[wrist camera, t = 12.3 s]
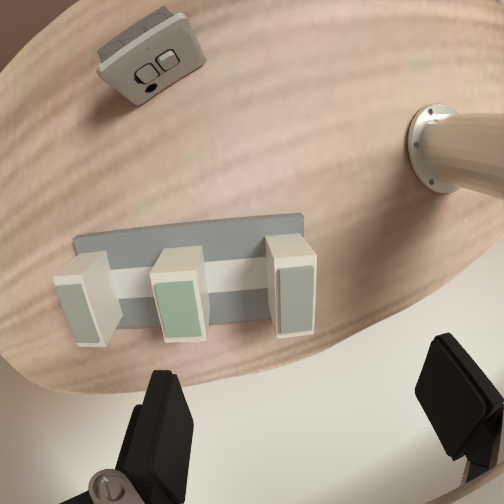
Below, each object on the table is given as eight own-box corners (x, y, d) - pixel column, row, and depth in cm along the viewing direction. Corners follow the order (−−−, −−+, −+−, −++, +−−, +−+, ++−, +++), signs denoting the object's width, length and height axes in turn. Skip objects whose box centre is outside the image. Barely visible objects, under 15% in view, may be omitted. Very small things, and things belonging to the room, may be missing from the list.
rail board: (300, 213, 34) (303, 216, 33) (300, 309, 39) (303, 315, 37) (77, 235, 33) (72, 238, 31) (102, 322, 37) (98, 328, 36)
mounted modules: (299, 233, 33) (318, 257, 26) (299, 302, 37) (315, 337, 29) (79, 253, 32) (49, 278, 25) (97, 315, 35) (76, 349, 28)
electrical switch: (138, 108, 29) (103, 89, 20) (119, 77, 27) (83, 52, 18) (208, 63, 28) (196, 27, 19) (186, 33, 26) (170, -6, 17)
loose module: (202, 245, 33) (195, 272, 26) (210, 306, 36) (207, 343, 29) (163, 248, 33) (148, 275, 26) (174, 309, 36) (164, 345, 28)
